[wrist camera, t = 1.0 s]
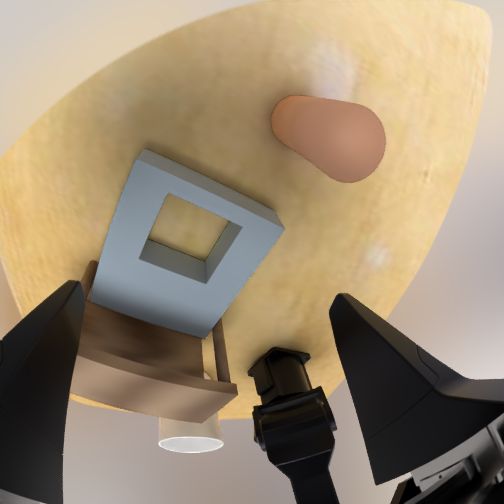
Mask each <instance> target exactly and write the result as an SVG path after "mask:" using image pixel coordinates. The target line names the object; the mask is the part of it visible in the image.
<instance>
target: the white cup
mask: <svg viewBox="0 0 504 504" xmlns="http://www.w3.org/2000/svg"><path fill="white" fill-rule="evenodd" d="M204 379H209V380H211V378H210V377H209V376H208V375H207V373H205V372H204ZM158 443H159V446H161V447H162V448H164V449H167V450H171V451H176V452H185V453H196V452H197V453H198V452H206V451H212V450H216V449H218V448H220V447H222V446H223V445H224V443H223V438H222V432H221V427H220V422H219V416H218V412H216V413H215V414H214V415H212V416H211V417H210V418H209V419H207V420H206V421H205V422H203V423H202V424H201V423H193V422H186V421H179V420H173V419H167V418H161V417H159V441H158Z"/></svg>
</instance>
